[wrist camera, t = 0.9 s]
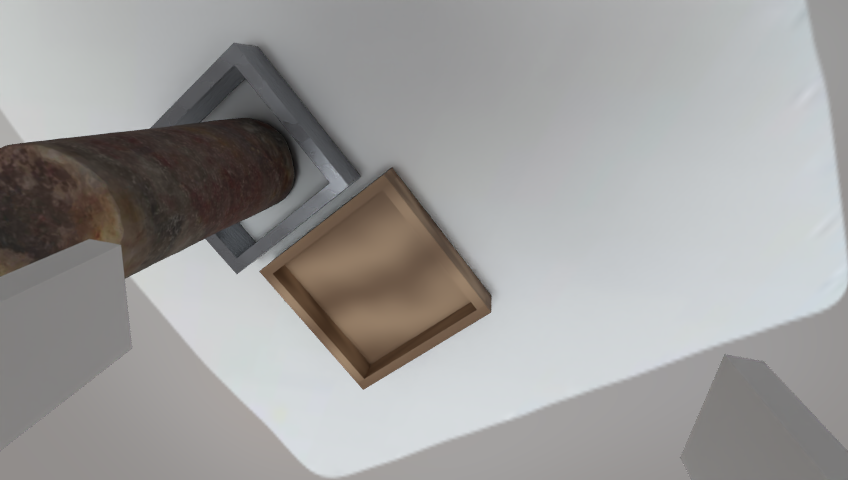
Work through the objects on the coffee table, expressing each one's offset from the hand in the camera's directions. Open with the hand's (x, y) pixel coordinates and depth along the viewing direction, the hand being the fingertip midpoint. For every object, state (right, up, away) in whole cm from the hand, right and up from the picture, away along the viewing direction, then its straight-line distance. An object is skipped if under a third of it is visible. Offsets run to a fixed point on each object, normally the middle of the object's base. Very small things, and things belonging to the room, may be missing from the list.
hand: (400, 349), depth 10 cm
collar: (-13, +9, +28) cm, 33 cm away
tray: (-3, -1, +30) cm, 30 cm away
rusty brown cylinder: (-13, +9, +29) cm, 33 cm away
